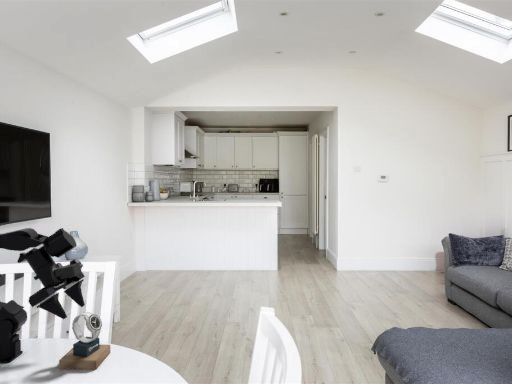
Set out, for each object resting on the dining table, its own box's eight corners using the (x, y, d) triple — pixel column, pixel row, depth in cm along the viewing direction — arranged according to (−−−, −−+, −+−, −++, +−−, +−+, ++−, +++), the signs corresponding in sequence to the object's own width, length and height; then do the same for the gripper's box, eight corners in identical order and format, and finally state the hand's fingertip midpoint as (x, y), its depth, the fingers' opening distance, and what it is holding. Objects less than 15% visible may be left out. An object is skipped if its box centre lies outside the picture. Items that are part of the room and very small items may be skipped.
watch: (93, 358, 107) (92, 318, 107) (67, 354, 109) (67, 315, 108) (105, 349, 112) (105, 311, 112) (81, 346, 114) (81, 309, 114)
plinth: (59, 369, 106) (59, 360, 106) (76, 352, 116) (76, 344, 116) (96, 369, 106) (96, 360, 106) (110, 352, 116) (110, 344, 116)
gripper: (45, 260, 103) (78, 309, 103) (83, 245, 121) (111, 287, 121) (13, 282, 104) (46, 331, 104) (55, 264, 122) (83, 305, 123)
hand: (74, 311), depth 113 cm, fingers open, 9 cm apart
